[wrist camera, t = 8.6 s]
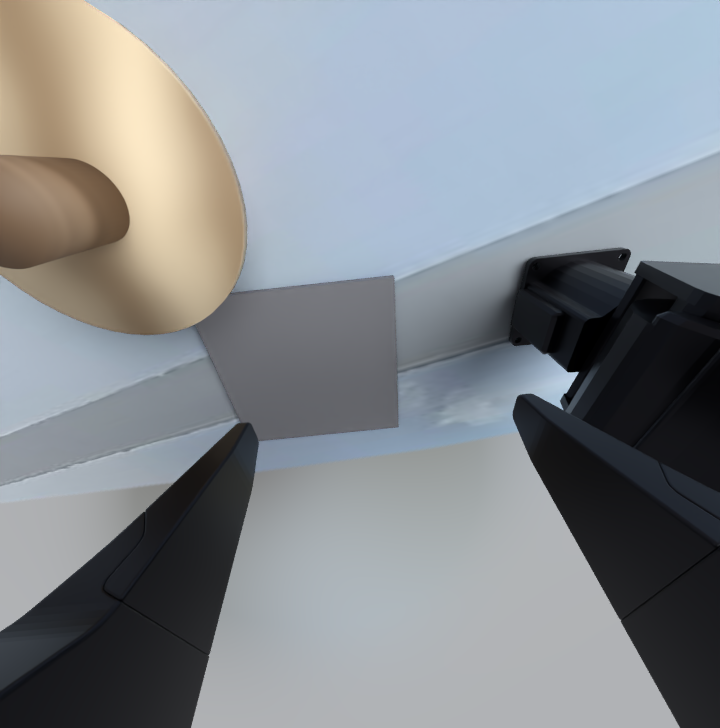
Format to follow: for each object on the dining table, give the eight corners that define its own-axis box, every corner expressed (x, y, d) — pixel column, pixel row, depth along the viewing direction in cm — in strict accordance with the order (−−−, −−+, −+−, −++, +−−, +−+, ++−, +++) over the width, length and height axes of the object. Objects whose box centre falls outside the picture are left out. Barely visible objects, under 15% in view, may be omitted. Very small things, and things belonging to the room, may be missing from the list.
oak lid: (173, -46, 9) (28, -230, 5) (277, 315, 15) (253, 364, 11) (-200, 7, 9) (-637, -126, 5) (62, 339, 16) (-34, 396, 12)
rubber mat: (393, 275, 19) (394, 277, 19) (397, 423, 27) (398, 427, 26) (187, 297, 19) (183, 300, 19) (251, 437, 27) (249, 441, 27)
